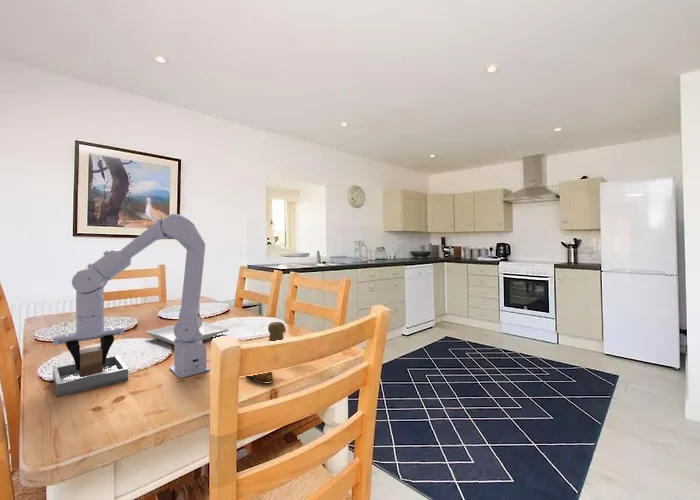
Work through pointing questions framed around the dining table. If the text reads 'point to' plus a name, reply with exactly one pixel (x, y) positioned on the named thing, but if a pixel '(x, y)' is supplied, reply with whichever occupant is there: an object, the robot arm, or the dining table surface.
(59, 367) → the tray
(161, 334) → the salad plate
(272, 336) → the cork
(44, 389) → the dining table surface
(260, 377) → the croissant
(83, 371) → the walnut block
